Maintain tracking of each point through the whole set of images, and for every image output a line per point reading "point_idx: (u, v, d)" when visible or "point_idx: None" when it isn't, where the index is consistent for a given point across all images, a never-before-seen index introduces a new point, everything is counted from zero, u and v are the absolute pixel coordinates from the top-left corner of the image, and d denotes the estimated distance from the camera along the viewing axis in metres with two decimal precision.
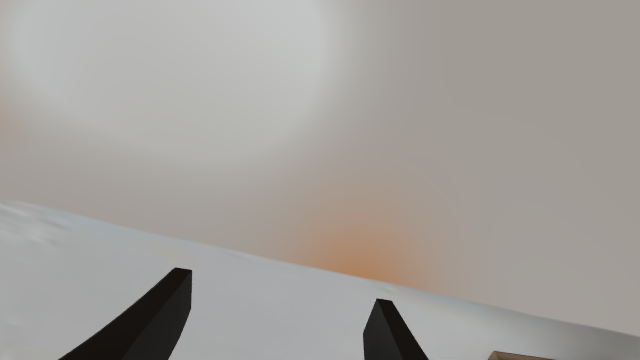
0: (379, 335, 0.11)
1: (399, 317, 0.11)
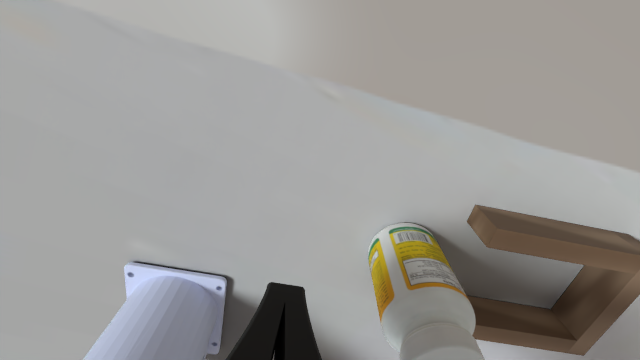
0: (281, 321, 0.10)
1: (301, 302, 0.10)
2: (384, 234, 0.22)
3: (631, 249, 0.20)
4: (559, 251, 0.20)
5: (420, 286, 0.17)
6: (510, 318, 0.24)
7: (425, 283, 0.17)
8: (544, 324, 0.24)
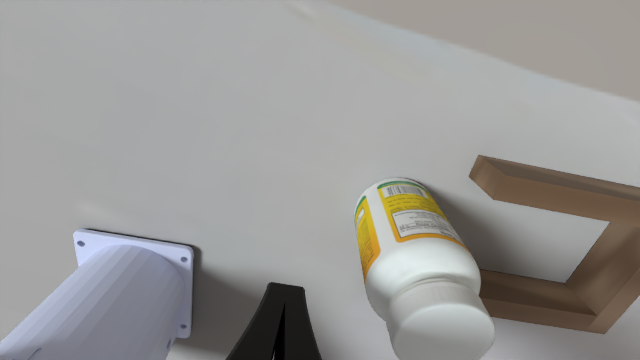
0: (281, 321, 0.10)
1: (301, 302, 0.10)
2: (371, 190, 0.19)
3: None
4: (579, 204, 0.17)
5: (411, 237, 0.13)
6: (520, 291, 0.21)
7: (417, 234, 0.13)
8: (558, 298, 0.21)
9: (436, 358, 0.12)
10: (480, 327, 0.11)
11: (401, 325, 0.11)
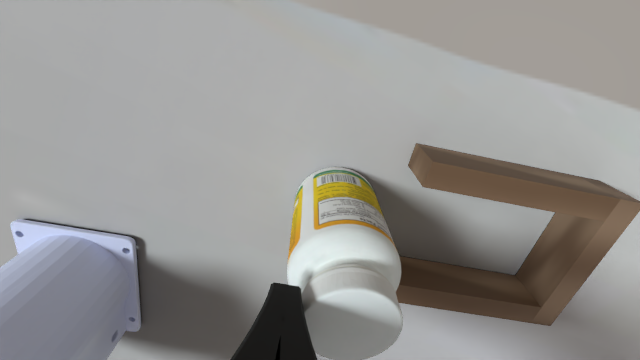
0: None
1: (297, 301, 0.10)
2: (308, 180, 0.18)
3: (599, 191, 0.17)
4: (511, 192, 0.16)
5: (328, 224, 0.13)
6: (465, 282, 0.21)
7: (335, 221, 0.13)
8: (504, 290, 0.21)
9: (347, 346, 0.12)
10: (385, 313, 0.11)
11: (305, 313, 0.11)
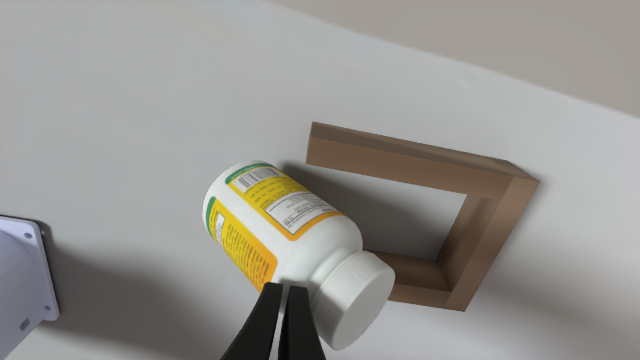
0: (285, 322, 0.10)
1: (305, 303, 0.10)
2: (219, 187, 0.15)
3: (494, 169, 0.16)
4: (398, 169, 0.16)
5: (304, 229, 0.12)
6: None
7: (307, 224, 0.12)
8: (417, 275, 0.20)
9: (361, 326, 0.13)
10: (388, 281, 0.13)
11: (338, 325, 0.11)
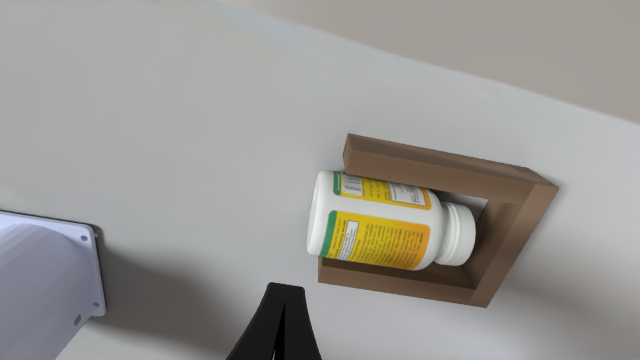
0: (281, 321, 0.10)
1: (301, 302, 0.10)
2: (334, 201, 0.16)
3: (517, 176, 0.18)
4: (430, 177, 0.17)
5: (428, 200, 0.17)
6: None
7: (425, 196, 0.18)
8: (442, 273, 0.22)
9: None
10: None
11: (474, 242, 0.18)
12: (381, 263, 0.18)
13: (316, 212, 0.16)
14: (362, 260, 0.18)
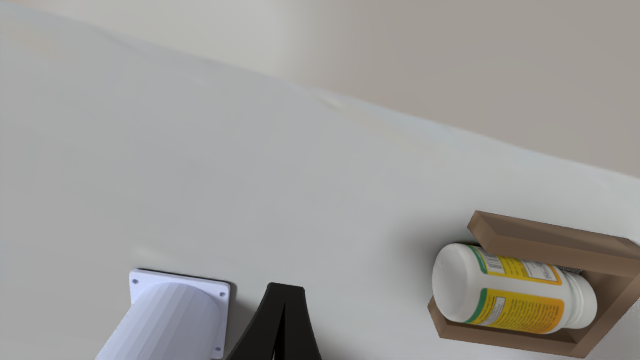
0: (281, 321, 0.10)
1: (301, 302, 0.10)
2: (483, 279, 0.19)
3: (630, 254, 0.21)
4: (558, 256, 0.20)
5: (557, 275, 0.20)
6: None
7: (553, 270, 0.20)
8: None
9: None
10: None
11: (595, 312, 0.20)
12: (514, 329, 0.20)
13: (468, 289, 0.19)
14: (498, 327, 0.20)
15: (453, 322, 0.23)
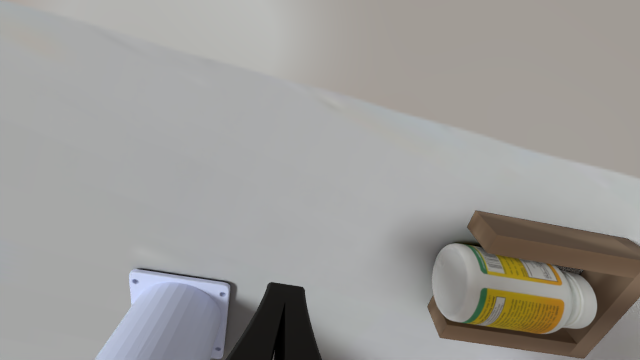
0: (281, 321, 0.10)
1: (301, 302, 0.10)
2: (483, 279, 0.19)
3: (630, 254, 0.21)
4: (558, 256, 0.20)
5: (557, 275, 0.20)
6: None
7: (553, 270, 0.20)
8: None
9: None
10: None
11: (595, 312, 0.20)
12: (514, 329, 0.20)
13: (468, 289, 0.19)
14: (498, 327, 0.20)
15: (453, 322, 0.23)
